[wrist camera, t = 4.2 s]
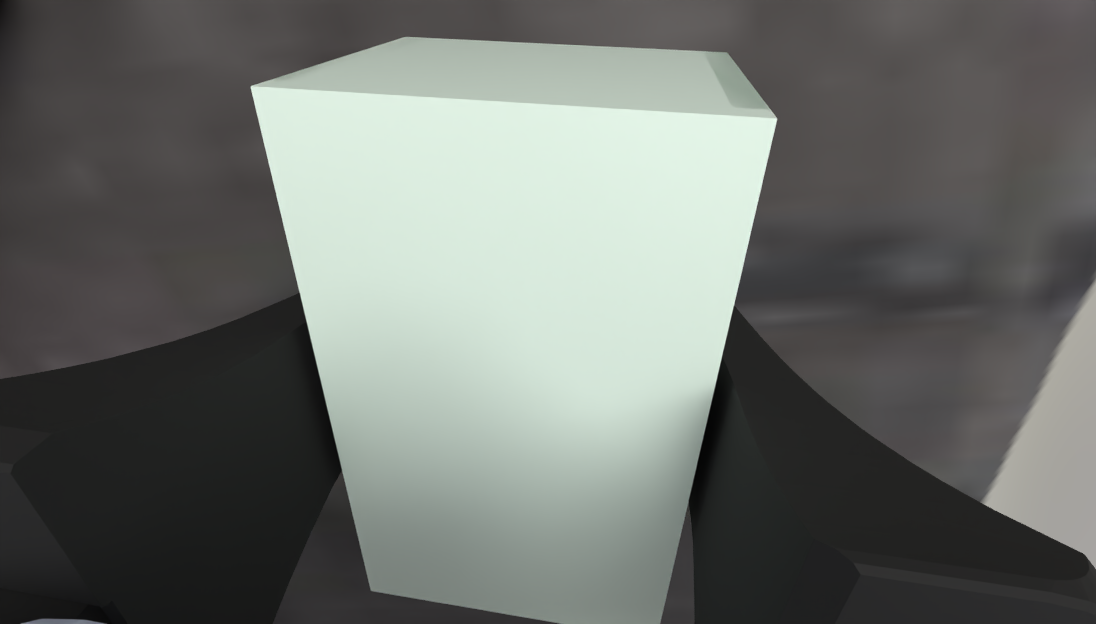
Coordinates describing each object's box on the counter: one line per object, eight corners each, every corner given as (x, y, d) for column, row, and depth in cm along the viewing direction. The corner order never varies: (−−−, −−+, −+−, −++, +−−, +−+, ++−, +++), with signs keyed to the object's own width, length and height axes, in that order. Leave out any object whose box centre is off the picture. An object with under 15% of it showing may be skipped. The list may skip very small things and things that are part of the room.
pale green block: (443, 428, 16) (370, 591, 12) (404, 36, 11) (250, 86, 7) (655, 457, 15) (656, 639, 11) (726, 52, 10) (777, 118, 6)
